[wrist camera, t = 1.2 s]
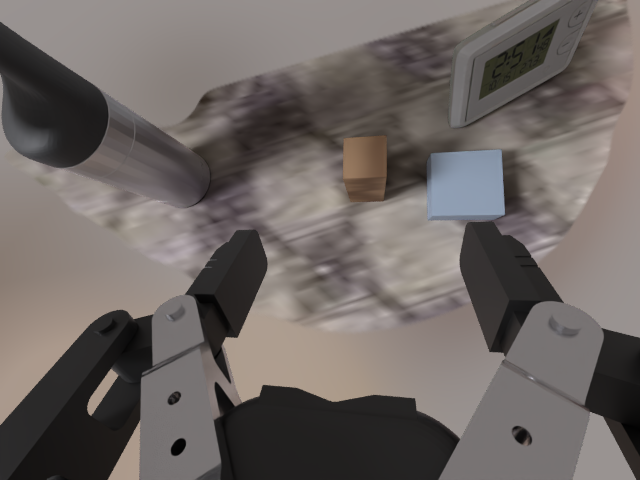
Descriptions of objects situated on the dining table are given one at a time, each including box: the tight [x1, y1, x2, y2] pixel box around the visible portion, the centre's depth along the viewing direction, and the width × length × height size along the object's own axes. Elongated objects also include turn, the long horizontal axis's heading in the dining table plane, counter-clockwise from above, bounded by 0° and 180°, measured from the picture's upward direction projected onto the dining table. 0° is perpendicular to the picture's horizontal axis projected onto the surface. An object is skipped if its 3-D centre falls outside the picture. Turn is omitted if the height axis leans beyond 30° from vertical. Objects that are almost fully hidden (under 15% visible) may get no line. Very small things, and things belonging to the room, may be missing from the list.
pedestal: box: [427, 149, 505, 220], centre depth 35 cm, size 8×8×3 cm
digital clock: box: [448, 0, 598, 128], centre depth 32 cm, size 16×9×11 cm, turn 107°
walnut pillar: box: [343, 135, 387, 202], centre depth 34 cm, size 4×4×10 cm
